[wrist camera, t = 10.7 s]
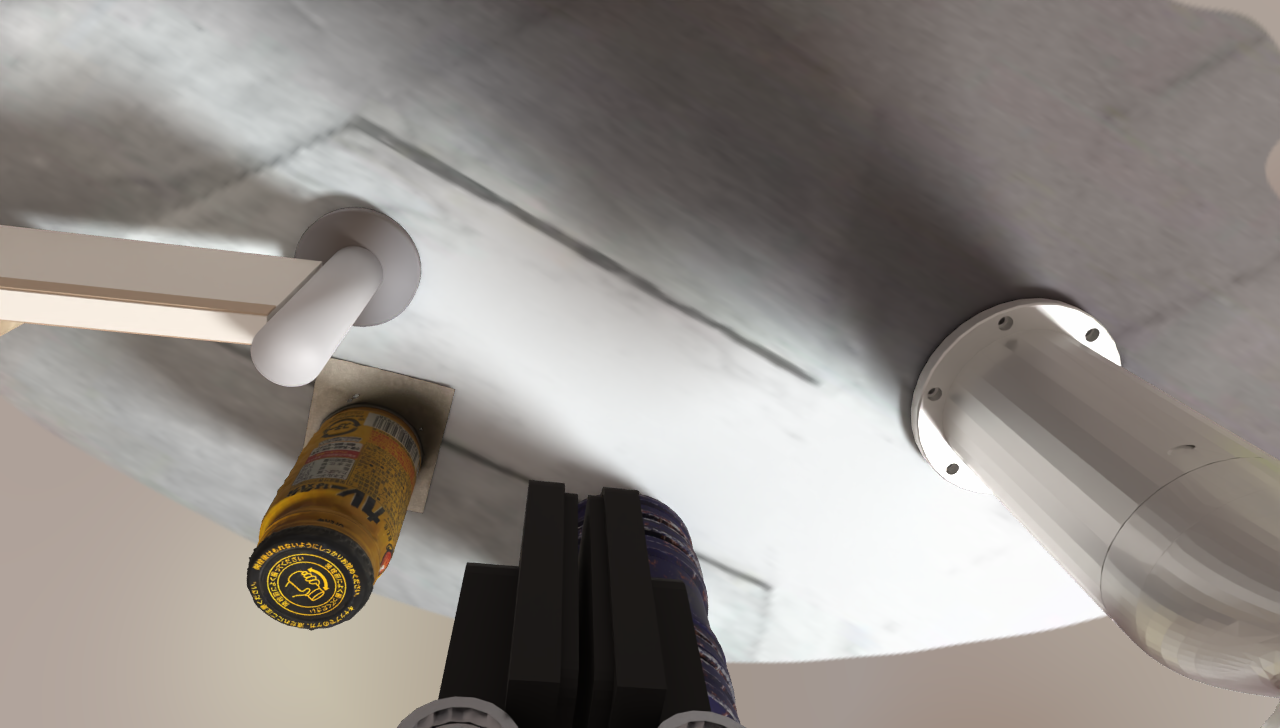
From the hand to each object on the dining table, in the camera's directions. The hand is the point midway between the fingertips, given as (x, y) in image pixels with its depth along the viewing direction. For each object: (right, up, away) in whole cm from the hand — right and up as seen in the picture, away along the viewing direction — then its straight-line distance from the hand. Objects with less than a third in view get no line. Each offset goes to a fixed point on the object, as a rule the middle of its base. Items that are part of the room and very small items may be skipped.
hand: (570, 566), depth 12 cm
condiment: (-14, -1, +32) cm, 35 cm away
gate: (-23, +9, +26) cm, 36 cm away
